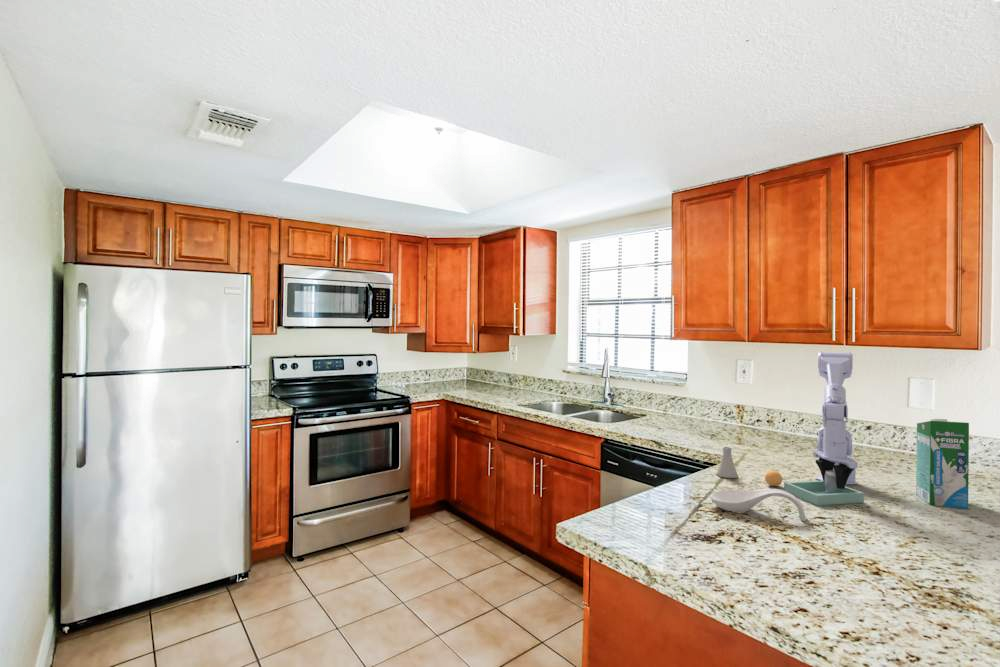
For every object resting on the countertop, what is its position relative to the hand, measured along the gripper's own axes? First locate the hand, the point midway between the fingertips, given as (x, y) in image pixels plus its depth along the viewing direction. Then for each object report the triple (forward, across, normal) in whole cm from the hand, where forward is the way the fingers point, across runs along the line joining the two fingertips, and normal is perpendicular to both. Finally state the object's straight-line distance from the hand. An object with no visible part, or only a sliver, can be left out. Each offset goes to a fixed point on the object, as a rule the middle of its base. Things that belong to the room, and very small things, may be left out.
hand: (834, 485), depth 154 cm
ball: (+1, -12, -11) cm, 17 cm away
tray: (+3, 0, -4) cm, 5 cm away
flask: (+4, -26, -19) cm, 32 cm away
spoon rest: (+4, +8, -33) cm, 34 cm away
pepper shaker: (+3, 0, 0) cm, 3 cm away
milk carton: (+4, +10, +28) cm, 30 cm away
